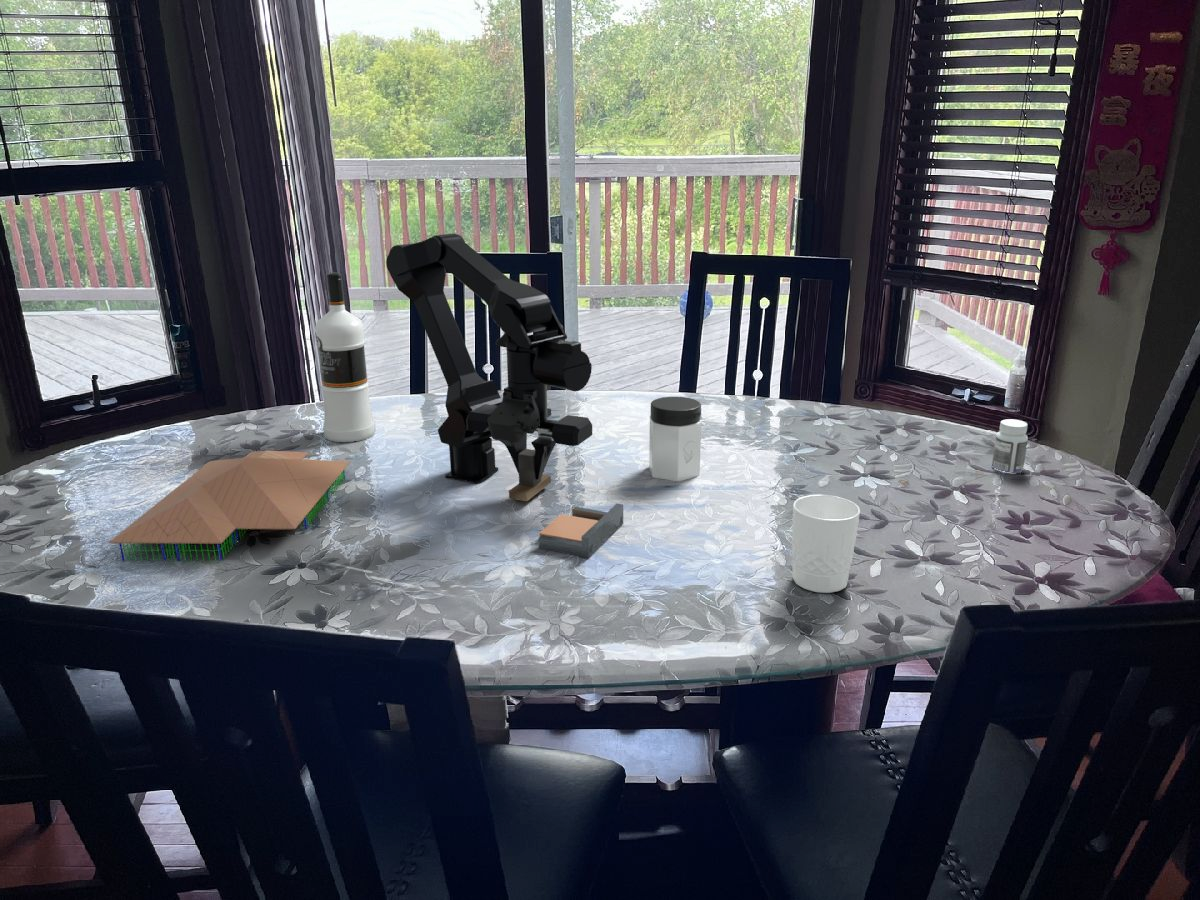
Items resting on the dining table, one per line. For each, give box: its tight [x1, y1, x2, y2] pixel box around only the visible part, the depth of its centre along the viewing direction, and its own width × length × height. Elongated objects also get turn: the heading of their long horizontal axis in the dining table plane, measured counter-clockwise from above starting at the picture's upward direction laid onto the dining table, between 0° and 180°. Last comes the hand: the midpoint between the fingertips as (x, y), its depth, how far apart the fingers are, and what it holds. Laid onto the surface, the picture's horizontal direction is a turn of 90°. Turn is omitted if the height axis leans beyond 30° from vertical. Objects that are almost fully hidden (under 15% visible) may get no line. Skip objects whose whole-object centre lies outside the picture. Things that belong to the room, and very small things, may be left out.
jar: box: [648, 396, 702, 482], centre depth 144 cm, size 9×8×12 cm
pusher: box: [508, 448, 552, 502], centre depth 136 cm, size 3×8×6 cm, turn 156°
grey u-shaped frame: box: [538, 503, 624, 560], centre depth 123 cm, size 8×12×3 cm, turn 156°
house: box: [108, 449, 351, 562], centre depth 131 cm, size 23×33×8 cm
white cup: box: [791, 494, 861, 594], centre depth 109 cm, size 8×8×10 cm
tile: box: [538, 513, 598, 542], centre depth 124 cm, size 7×7×2 cm
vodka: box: [314, 271, 377, 443], centre depth 159 cm, size 9×9×30 cm
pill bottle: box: [991, 418, 1029, 472], centre depth 145 cm, size 5×5×8 cm
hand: (530, 477), depth 136 cm, fingers closed on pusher, 2 cm apart
